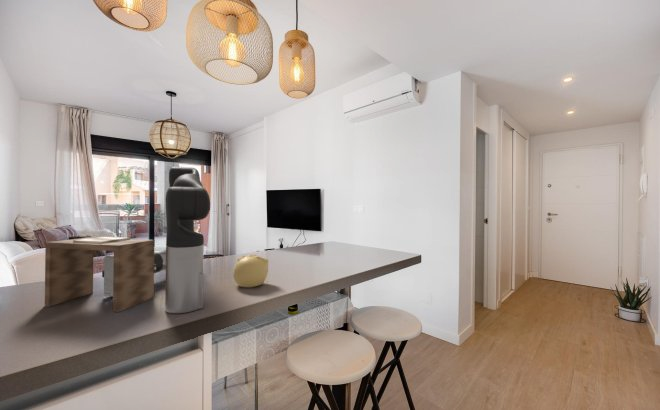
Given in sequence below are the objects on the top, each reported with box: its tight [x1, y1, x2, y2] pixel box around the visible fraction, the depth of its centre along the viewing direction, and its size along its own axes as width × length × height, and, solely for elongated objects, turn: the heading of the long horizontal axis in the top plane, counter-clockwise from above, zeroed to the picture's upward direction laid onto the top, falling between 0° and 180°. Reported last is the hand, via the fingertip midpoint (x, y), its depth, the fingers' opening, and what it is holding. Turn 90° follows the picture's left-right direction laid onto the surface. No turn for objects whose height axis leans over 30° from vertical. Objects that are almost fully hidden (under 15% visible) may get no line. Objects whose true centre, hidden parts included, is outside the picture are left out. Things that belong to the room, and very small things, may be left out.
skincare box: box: [103, 254, 114, 298], centre depth 85 cm, size 6×4×12 cm
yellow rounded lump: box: [232, 254, 269, 288], centre depth 98 cm, size 11×12×11 cm
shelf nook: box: [44, 236, 155, 313], centre depth 80 cm, size 12×23×18 cm, turn 81°
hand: (110, 274), depth 83 cm, fingers closed on skincare box, 4 cm apart
